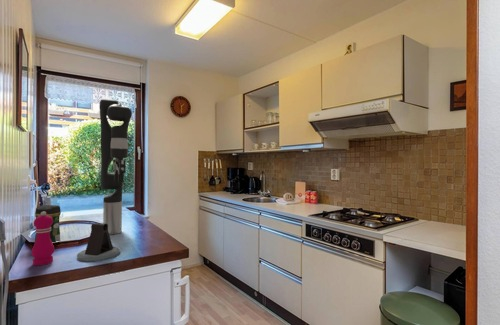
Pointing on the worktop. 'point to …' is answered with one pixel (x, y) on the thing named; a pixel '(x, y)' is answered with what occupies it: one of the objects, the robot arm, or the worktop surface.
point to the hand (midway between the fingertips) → (119, 181)
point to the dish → (92, 258)
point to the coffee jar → (55, 214)
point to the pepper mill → (43, 240)
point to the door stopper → (99, 240)
